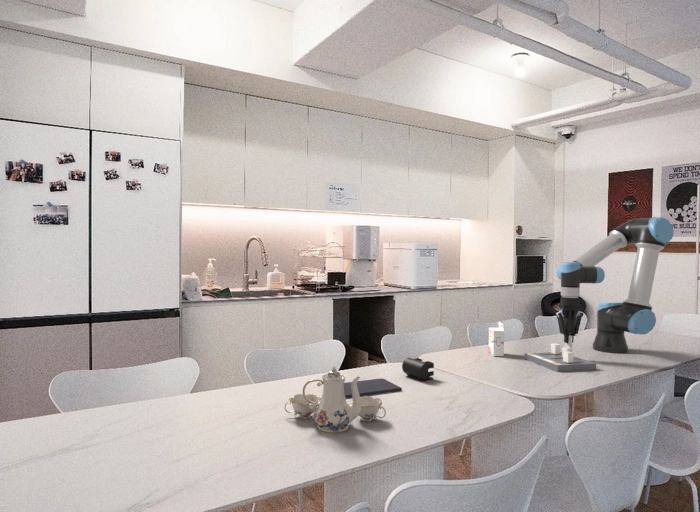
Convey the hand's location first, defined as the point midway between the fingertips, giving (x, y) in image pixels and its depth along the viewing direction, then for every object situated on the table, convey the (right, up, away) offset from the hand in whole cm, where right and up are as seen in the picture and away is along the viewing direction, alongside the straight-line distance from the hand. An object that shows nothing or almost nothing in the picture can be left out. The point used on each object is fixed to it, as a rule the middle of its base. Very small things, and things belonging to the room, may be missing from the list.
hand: (568, 350), depth 211 cm
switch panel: (-9, -4, -10) cm, 14 cm away
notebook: (-92, -4, -50) cm, 104 cm away
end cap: (-71, -4, -35) cm, 79 cm away
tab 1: (-6, -1, -2) cm, 7 cm away
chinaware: (-101, -4, -81) cm, 129 cm away
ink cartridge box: (-30, -4, +7) cm, 31 cm away
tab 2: (-5, -1, -9) cm, 10 cm away
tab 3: (-8, -1, -17) cm, 19 cm away
